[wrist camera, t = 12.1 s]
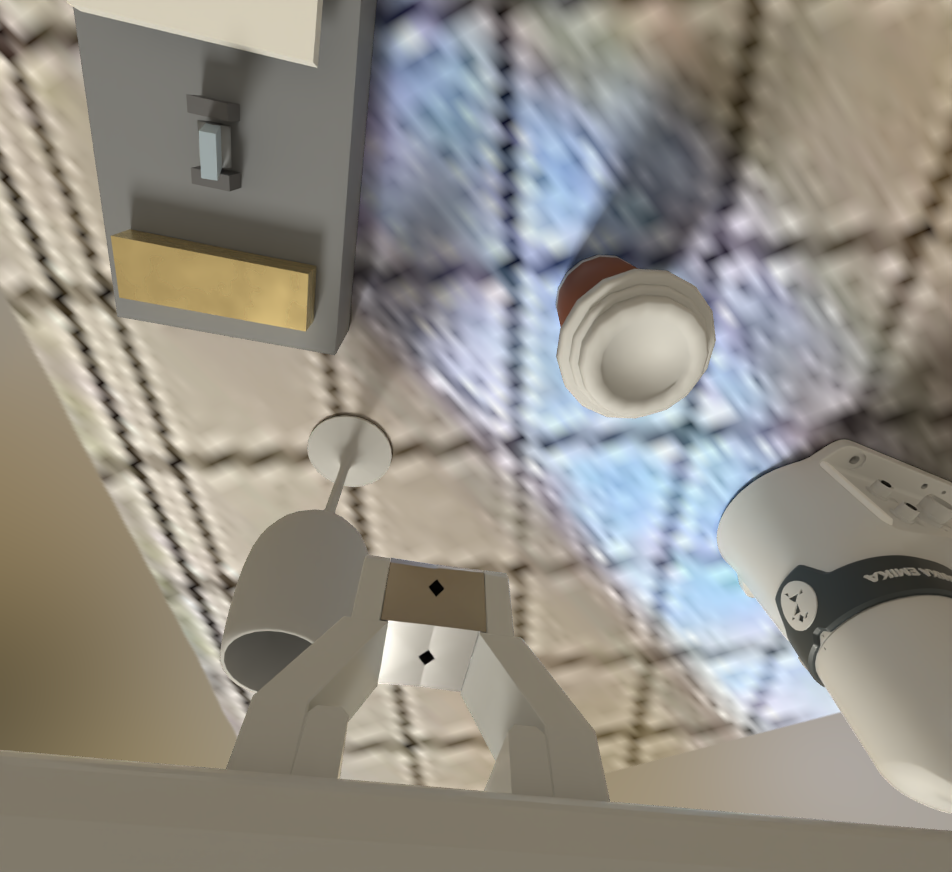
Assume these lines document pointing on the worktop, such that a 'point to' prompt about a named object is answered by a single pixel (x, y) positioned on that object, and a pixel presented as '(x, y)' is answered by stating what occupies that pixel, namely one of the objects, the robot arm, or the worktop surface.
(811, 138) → the worktop surface
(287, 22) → the white slab
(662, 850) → the robot arm
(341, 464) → the wineglass
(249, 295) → the gold rectangular block
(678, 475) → the worktop surface
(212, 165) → the paddle
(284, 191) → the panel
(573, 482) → the worktop surface
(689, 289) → the coffee cup
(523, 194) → the worktop surface
